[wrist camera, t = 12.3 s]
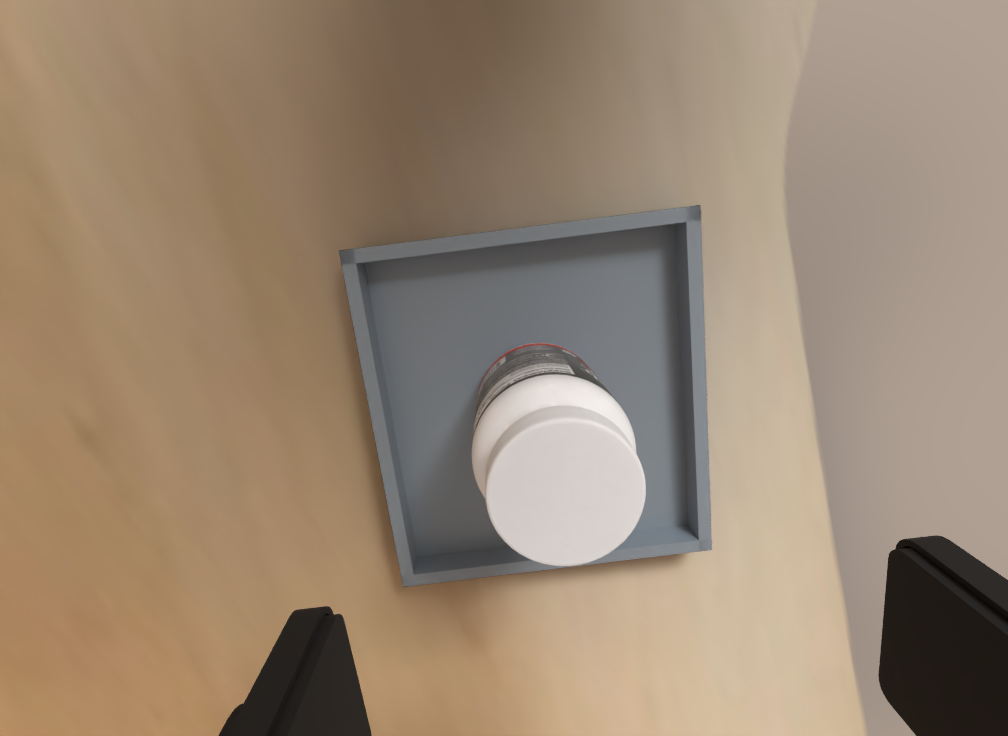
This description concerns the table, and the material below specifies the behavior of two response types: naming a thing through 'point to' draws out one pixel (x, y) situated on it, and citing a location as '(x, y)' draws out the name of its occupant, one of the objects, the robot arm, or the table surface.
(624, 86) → the table surface
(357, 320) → the slate tray
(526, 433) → the pill bottle
